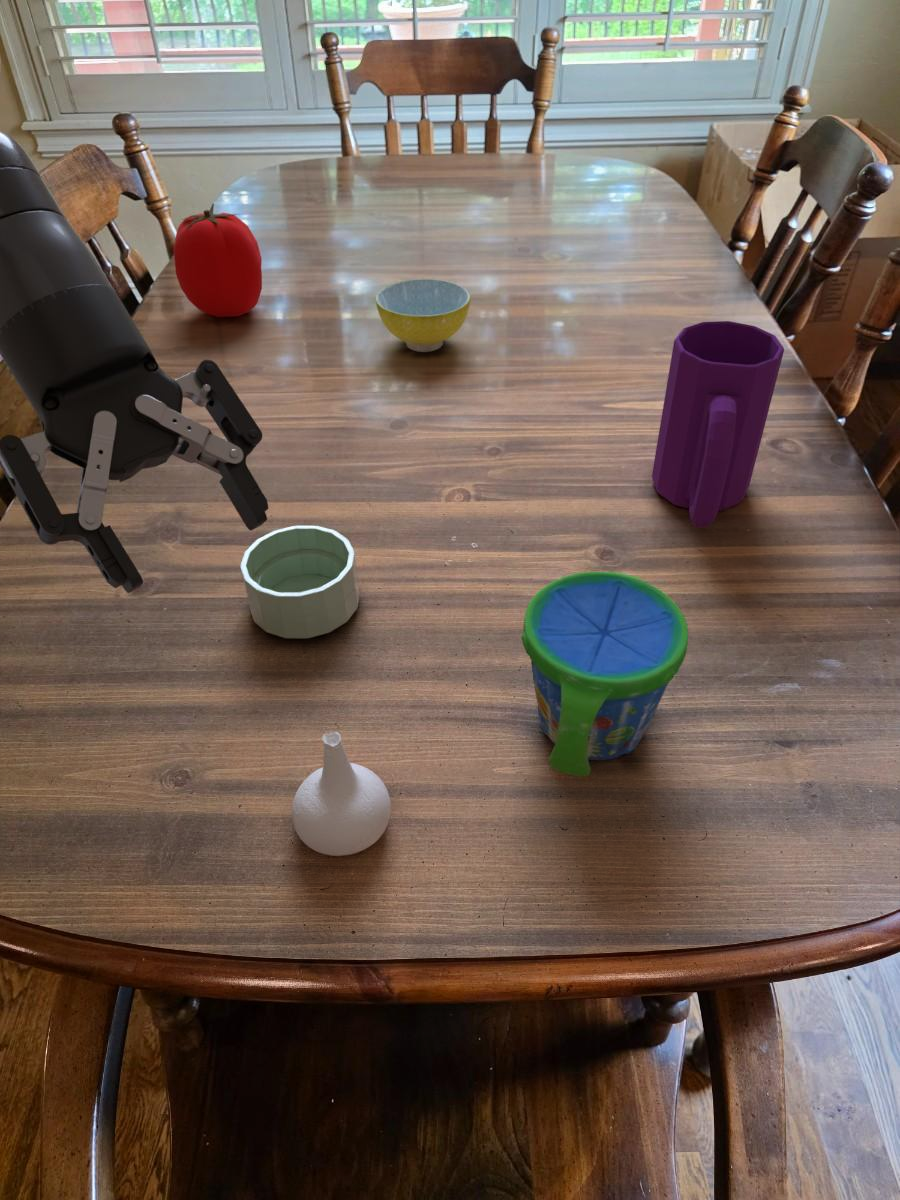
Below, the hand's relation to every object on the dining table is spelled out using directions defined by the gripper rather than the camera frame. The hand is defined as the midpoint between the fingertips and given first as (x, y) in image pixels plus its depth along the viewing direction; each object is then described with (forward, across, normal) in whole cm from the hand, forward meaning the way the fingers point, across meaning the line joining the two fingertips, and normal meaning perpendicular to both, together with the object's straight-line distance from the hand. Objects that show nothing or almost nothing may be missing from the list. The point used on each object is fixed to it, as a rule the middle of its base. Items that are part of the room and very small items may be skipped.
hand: (200, 555), depth 52 cm
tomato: (-33, +39, +56) cm, 76 cm away
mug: (+17, +46, +6) cm, 49 cm away
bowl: (-14, +51, +38) cm, 65 cm away
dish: (+6, +11, +17) cm, 21 cm away
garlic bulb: (+20, 0, +3) cm, 20 cm away
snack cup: (+24, +18, -1) cm, 30 cm away
